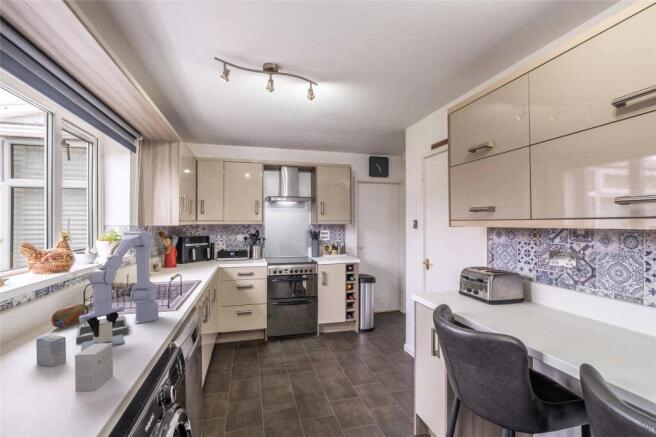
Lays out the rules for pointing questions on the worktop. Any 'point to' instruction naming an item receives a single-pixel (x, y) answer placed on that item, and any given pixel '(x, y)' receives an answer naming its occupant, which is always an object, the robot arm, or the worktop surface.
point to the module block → (104, 332)
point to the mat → (115, 340)
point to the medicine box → (51, 350)
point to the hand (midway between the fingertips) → (103, 334)
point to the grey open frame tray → (86, 328)
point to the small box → (93, 366)
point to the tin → (69, 315)
